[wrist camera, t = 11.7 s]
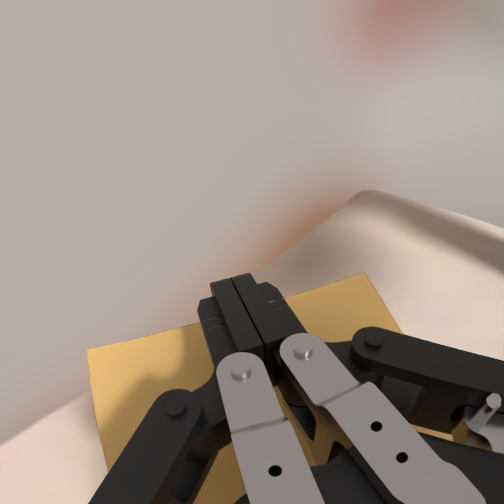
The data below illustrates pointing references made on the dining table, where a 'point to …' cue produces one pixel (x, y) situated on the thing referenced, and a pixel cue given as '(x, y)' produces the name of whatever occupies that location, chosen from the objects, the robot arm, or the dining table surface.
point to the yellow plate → (201, 369)
